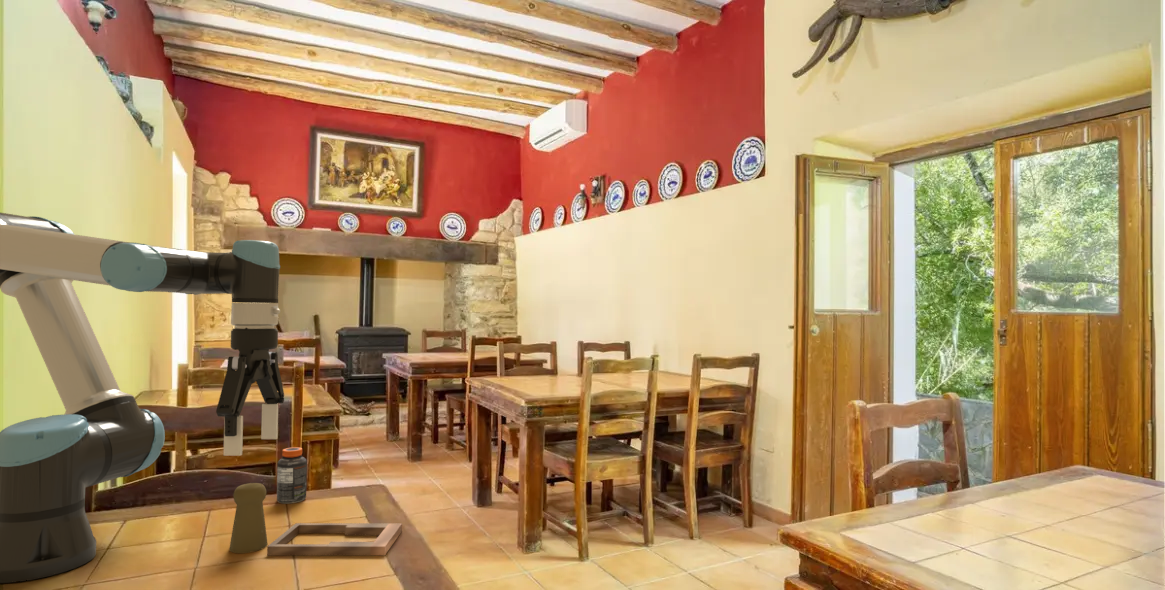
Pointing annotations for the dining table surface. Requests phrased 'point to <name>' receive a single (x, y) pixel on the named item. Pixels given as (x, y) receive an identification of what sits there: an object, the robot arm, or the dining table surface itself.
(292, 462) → the pill bottle
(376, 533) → the keyhole board
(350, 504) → the dining table surface
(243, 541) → the olive rounded upright piece
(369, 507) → the dining table surface
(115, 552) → the dining table surface
